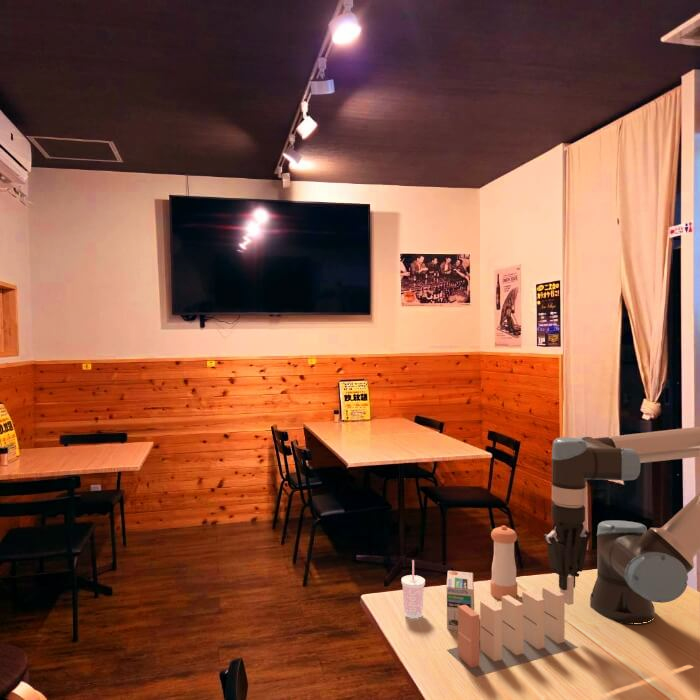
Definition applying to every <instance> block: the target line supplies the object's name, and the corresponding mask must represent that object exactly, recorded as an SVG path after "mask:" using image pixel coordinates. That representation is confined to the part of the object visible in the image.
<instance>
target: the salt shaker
mask: <svg viewBox="0 0 700 700" xmlns="http://www.w3.org/2000/svg"><path fill="white" fill-rule="evenodd" d="M490 537H491V539H492V541H493V558H492V563H491V579H490V595H491V596H492V597H494V598H495V599H498V600H501V601H502V596H506V595H509V596H511V597H513V598H514V599H516V598H518V582H517V566H516V561H515V542H516V541H517V540H518V535H517V533H516V530H514V529H512V528H510V527H508V526H506V525H501V526H499V527H495V528H493V529H492V531H491V533H490Z"/></svg>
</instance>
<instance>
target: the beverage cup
mask: <svg viewBox="0 0 700 700" xmlns="http://www.w3.org/2000/svg"><path fill="white" fill-rule="evenodd" d="M411 563H412V564H411V565H412V567H411V568H412V570H411V573H412V574H409V575H405V576H402V577H401V581H400V582H401V585H402V599H403V600H402V601H403V613H404V614H405V615H404V617H406V616H407V617H410V618H418V617H421V616H423V605H424V590H425V589H424V588H425V586H426V579H425V578H424V577H422V576H420V575H417V574H416V575H415V560H414V559H412V560H411ZM407 617H406V618H407ZM410 618H409V619H410ZM421 618H422V617H421ZM418 619H419V618H418Z"/></svg>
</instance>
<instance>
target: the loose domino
mask: <svg viewBox="0 0 700 700" xmlns="http://www.w3.org/2000/svg"><path fill="white" fill-rule="evenodd" d="M501 609H502V645H503V646H505V647H506V648H507V649H509V650H510V651H511V652H513V653H514V654H515V655H519V654H523V604H522V602H521V601H519V600H517V599H516V598H513V597H511V596H509V595H506V596H502V600H501Z"/></svg>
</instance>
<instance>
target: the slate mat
mask: <svg viewBox="0 0 700 700" xmlns="http://www.w3.org/2000/svg"><path fill="white" fill-rule="evenodd" d="M577 648H578V646H576V645H575V644H573V643H572V642H570V641H569V640H567V639H566V638H565V642H562V643H556V642H555V641H553V640H552V639H550V638H549V637H547V636H546V635H544V648H541V649H536V648H535V647H534V646H532V645H531V644H529V643H528V642H526V641H525V640H524V639H523V654H519V655H515V654H514V653H513V652H511V651H510V650H509V649H507V648H506V647H505V646H503V645H502V659H501V660H498V661H493V660H492V659H491V658H490V657H488V656H487V655H486V654H485V653H484V652H482V651H481V650H480V640H479V666H476V667H473V668H471V667H470V666H469V665H468V664H467V663H466V662H464V661H463V660H462V659H461V658H460V657H459V656H458V646H456V647H453V648H450V649H446V651H447V652H448V653H449V654H451V656H452V657H453V658H455V660H457V661H458V662H459V663H460V664H461V665H462V666H463V667H464V668H465V669H467V670H468V671H469V672H470V673H471V674H472V675H473V676H474V677H481V676H483V675H487V674H490V673H494V672H497V671H498V672H499V671H501V670H504V669H509V668H511V667H512V668H513V667H515V666H519V665H522V664H526V663H529V662H533V661H535V660H536V661H537V660H539V659H543V658H546V657H550V656H554V655H556V654H559V653H564V652H567V651H570V650H573V649H577Z"/></svg>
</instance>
